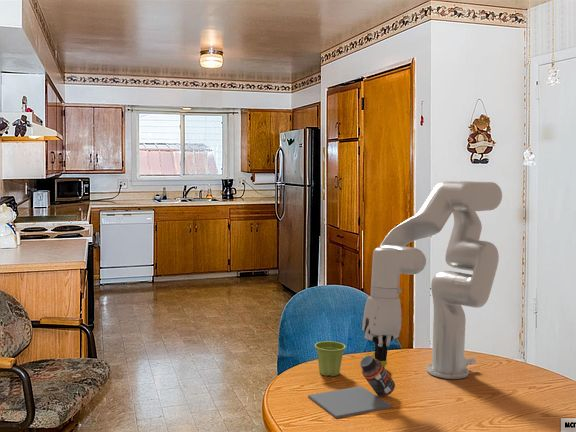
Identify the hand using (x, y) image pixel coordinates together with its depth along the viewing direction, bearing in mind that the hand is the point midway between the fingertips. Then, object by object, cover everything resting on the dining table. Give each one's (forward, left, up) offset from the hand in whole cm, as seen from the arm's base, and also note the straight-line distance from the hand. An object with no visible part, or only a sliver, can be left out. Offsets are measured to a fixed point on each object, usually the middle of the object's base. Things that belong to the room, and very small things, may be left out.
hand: (380, 359), depth 159 cm
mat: (+9, 0, -11) cm, 14 cm away
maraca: (-12, -20, -11) cm, 26 cm away
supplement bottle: (-3, 0, -9) cm, 9 cm away
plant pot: (+3, -22, -11) cm, 25 cm away
